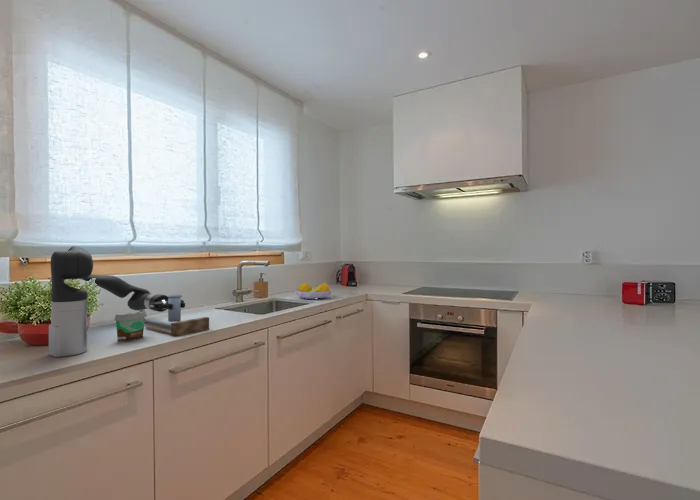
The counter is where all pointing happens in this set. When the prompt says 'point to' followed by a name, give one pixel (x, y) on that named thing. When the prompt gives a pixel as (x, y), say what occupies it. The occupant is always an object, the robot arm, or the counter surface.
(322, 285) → the fruit bowl
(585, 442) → the counter surface
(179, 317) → the block
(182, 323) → the channel
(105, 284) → the robot arm
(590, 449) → the counter surface
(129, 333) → the food container
